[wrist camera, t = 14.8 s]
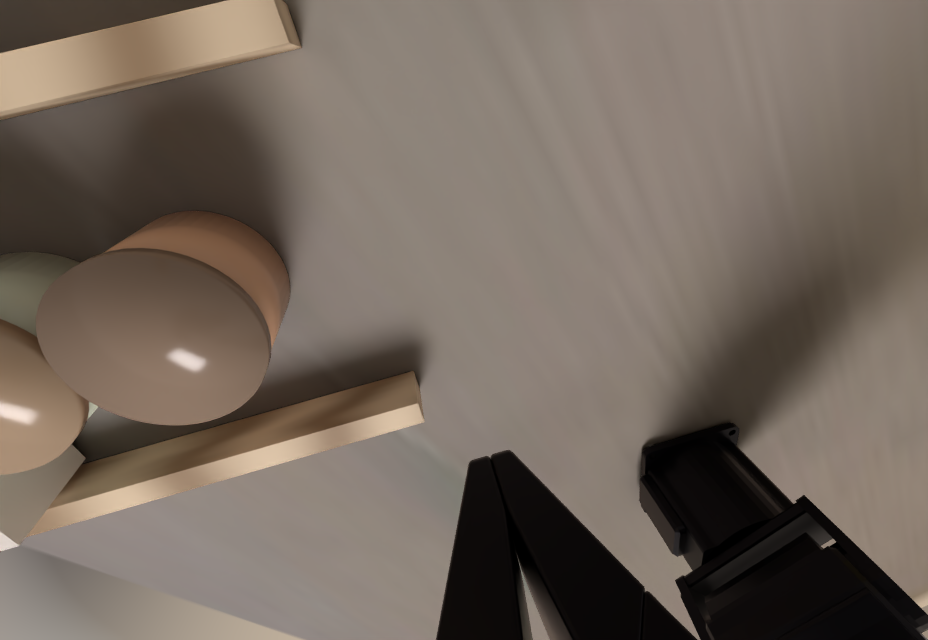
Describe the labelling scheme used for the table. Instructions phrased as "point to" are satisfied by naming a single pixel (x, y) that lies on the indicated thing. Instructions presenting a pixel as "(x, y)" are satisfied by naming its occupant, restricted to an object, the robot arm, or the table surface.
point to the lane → (240, 442)
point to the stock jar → (32, 370)
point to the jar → (168, 320)
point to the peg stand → (32, 495)
